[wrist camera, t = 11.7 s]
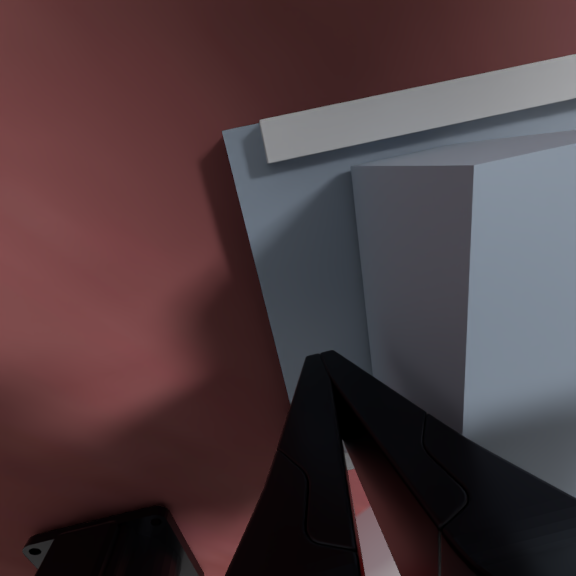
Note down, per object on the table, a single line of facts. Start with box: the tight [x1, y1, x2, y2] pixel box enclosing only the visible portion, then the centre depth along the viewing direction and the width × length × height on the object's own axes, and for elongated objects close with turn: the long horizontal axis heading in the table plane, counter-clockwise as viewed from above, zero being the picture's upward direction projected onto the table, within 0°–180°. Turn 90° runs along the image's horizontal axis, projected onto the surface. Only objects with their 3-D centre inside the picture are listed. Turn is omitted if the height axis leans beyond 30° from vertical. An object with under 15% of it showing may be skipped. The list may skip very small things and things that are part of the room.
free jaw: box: [351, 130, 576, 498], centre depth 8 cm, size 10×4×5 cm, turn 11°
